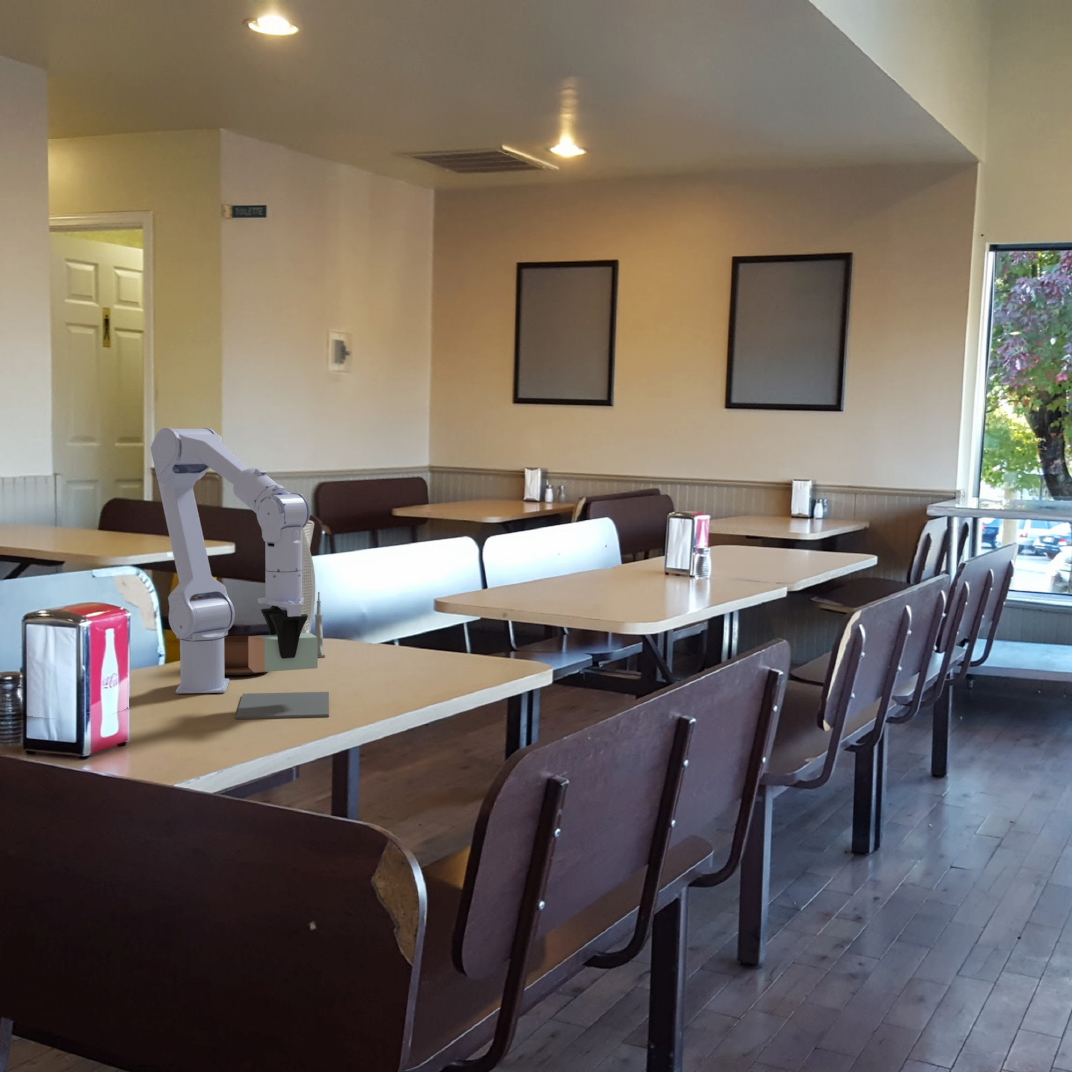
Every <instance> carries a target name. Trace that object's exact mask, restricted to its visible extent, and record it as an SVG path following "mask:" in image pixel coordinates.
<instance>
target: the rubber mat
mask: <svg viewBox="0 0 1072 1072" xmlns="http://www.w3.org/2000/svg"><path fill="white" fill-rule="evenodd" d="M329 695H330V692H329V691H306V692H305V691H304V692H302V691H301V692H295V691H294V692H261V693H260V692H256V693H242V696H241V699H240V701H239V705H238V708H237V711H236V714H235V720H249V719H251V720H253V719H256V720H257V719H291V718H292V719H294V718H296V719H297V718H298V719H299V718H301V719H302V718H327V717H330V697H329Z"/></svg>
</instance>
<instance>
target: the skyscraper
mask: <svg viewBox="0 0 1072 1072" xmlns="http://www.w3.org/2000/svg"><path fill="white" fill-rule="evenodd" d="M314 528H315V522H314V521H313V520H310V519H309V521H308V523H307V525H306V526H305V527H304V528H302V597H303V598H304V602H303V604H302V605H301V614H306V615H308V618H307V621H306V622H305V624H304V626H303V628H302V631H301V633H311V630H312V624H313V618H315V621H314V622H315V623H314V625H315V626H314V635H315V636H316V637H318V659H320V658H321V659H322V658H326V655H325V654H324V641H323V640H324V635H323V634H324V633H323V615H324V614H323V613H322V612H321V611H322V609H321V608H322V606H321V597H320V595H321V594H320V593H321V592H320V591H318V592H317V600H316V574H315V566H314V565H315V564H314V561H313V557H312V553H311V552H312V551H311V544H312V539H313V534H314ZM315 601H316V602H315ZM315 604H316V614H314V613H315V612H314V611H315Z"/></svg>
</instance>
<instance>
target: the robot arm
mask: <svg viewBox="0 0 1072 1072" xmlns="http://www.w3.org/2000/svg"><path fill="white" fill-rule="evenodd" d="M150 452H151V457H152V462H153V465H154V471H155V476H156V479H157V483H158V488H159V493H160V498H161V502H162V507H163V513H164V517H165V522H166V527H167V530H168V535H169V541H170V545H171V550H172V554H173V559H174V565H175V569H176V572H177V579H178V584H177V586H176V587H175V588H174V589H173V590H172V591H171V593H170V594H169V595H167V599H168V600H167V601H168V605H169V609H168V623H169V627H170V629H171V630H172V632H173V633H174V634H175V638H176V639H179V653H180V655H179V656H180V658H179V659H180V662H179V664H180V683H179V684H178V686H177V687H176V690H175V693H176V694H210V693H211V694H212V693H213V694H214V693H215V694H216V693H220V694H221V693H222V694H223V693H226V691H227V688H228V685H229V683H230V678H225V676H226V675H225V670H224V637H227V636H228V635H229V630H230V629H231V628H232V627H233V624H234V623H235V616H236V612H235V607H234V604H233V603H232V601H231V599H230V598H229V595H228V592H227V587H226V586H225V585H224V583H221V582H220V581H219V580H217V579H216V578H214V577H213V575H212V571H211V567H210V562H209V556H208V551H207V548H206V544H205V539H204V535H203V530H202V524H201V520H200V516H199V515H200V513H199V512H198V505H197V502H196V497H195V496H196V495H195V492H194V486H195V484H196V483H197V481H199V480H200V479H202V478H203V477H204V475H206V473H207V472H209V470H210V469H211V470H212V471H214V472H215V473H217V475H219V476H221V477H222V478H223V479H224V480H227V482H229V483H231V485H233V488H232V489H233V494H234V496H236V498H238V499H239V500H240V501H241V502H242V503H243V504H245V505H246V506H247V507H248V508H249V509H251V510H252V512H254V513H255V514H256V519H257V523H258V525H259V526H260V528H261V534H262V535H261V538H262V540H263V541H264V542H265V546H264V547H265V561H264V562H265V568H264V569H265V573H264V574H265V578H264V580H265V581H264V582H265V596H264V597H259V598H257V603H258V604H259V605H260V604H261V605H262V604H264V605H270V608H262V609H260V611H261V614H262V616H263V618H264V620H265V622H266V625H267V628H268V633H269V635H277V638H278V646H279V652H280V656H281V658H282V659H285V658H295V655H296V651H297V647H298V642H299V637H300V634H301V631H302V628H303V626H304V624H305V622H306V621H307V618H308V615H306V614H301V605H302V604H303V602H304V598H303V597H302V528H304V527H305V526H306V525H307V524H309V522H308V521H309V520H310V517H311V508H310V504H309V502H308V501H307V498H305V497H304V495H303V494H302V493H300V492H289V491H286V490H285V487H284V486H283V485H282V484H278V483H277V482H276V481H275V480H273V479H272V478H271V477H269V476H268V474H267V473H268V471H266V469H264V468H261V467H260V468H257V467H250V468H248V467H247V466H246V465H245V464H244V463H243V462H241V460H240V459H239V458H238V457H237V456H236V455H234V453H233V452H231V450H230V449H229V448H228V447H226V445H225V444H224V441H223V436H221V435H219V434H218V433H216V431H215V430H214V429H212V428H210V427H203V428H171V427H163V428H160V429H159V430H158V431H157V432H156V435H155V436H154V438H153V442H152V443H151V446H150Z"/></svg>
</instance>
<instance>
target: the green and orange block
mask: <svg viewBox="0 0 1072 1072" xmlns="http://www.w3.org/2000/svg"><path fill="white" fill-rule="evenodd" d="M247 636H248V667H249V668H250V669H251V670H252V671H253V672H261V673H266V672H267V673H268V672H280V671H281V672H282V671H297V670H311V669H318V659H319V658H318V637H316V636H315V634H313V633H311V632H310V633H301V634H300V637H299V642H298V647H297V651H296V655H295V658H285V659H282V658H281V656H280V652H279V646H278V638H277V635H270V634H266V635H264V634H263V635H261V634H260V635H247Z"/></svg>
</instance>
